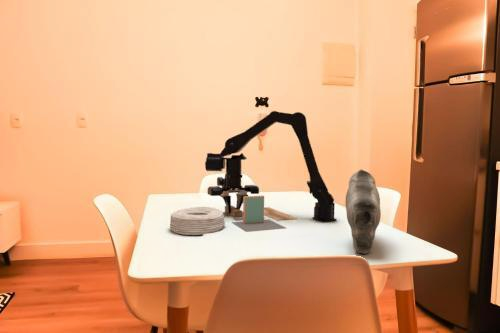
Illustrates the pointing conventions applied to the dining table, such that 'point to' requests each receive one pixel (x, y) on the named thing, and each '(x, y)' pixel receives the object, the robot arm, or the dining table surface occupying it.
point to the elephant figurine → (363, 210)
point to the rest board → (277, 214)
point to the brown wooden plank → (235, 213)
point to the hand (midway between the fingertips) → (233, 213)
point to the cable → (197, 220)
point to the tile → (253, 209)
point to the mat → (258, 226)
